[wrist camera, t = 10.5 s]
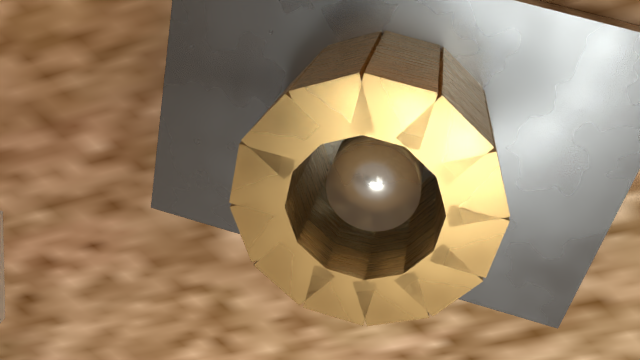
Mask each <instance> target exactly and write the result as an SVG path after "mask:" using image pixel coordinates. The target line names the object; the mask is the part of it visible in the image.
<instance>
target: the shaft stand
mask: <svg viewBox="0 0 640 360" xmlns="http://www.w3.org/2000/svg"><path fill="white" fill-rule="evenodd" d="M378 31H382V35H383V34H384V32H385V31H389V32H393V33H397V34H400V35H404V36H408V37H412V38H416V39H419V40H423V41H427V42H431V43H435V44H438V45H440V50H441V49H442V48H443V47H444V48H445V49H446V50H447V51H448V52H449V53H450V54H451V55H452V56H453V57H454V58H455V59H456V60H457V61H458V62H459V63H460V64H461V65H462V66H463V67H464V68H465V69H466V70H467V71H468V72H469V73H470V74H471V75H472V76H473V78H474V79H475V80H476V81H477V82H478V83H479V84H480V85H481V86H482V87H483V90H484V91H485V96H486V101H487V105H488V110H489V115H490V119H491V124H492V129H493V134H494V138H495V143H496V148H497V153H498V158H499V163H500V168H501V173H502V178H503V183H504V188H505V193H506V198H507V203H508V208H509V213H510V217H509V219H510V222H509V224H508V227H507V229H506V231H505V234H504V236H503V238H502V241H501V243H500V246H499V248H498V250H497V253H496V255H495V257H494V260H493V262H492V265H491V267H490V269H489V272H488V274H487V276H486V278H484V277H483V282H481V283H480V284H478V285H477V286H476V287H474V288H473V289H471V290H470V291H468V292H467V293H466V294H464V295H463V296H461V297H460V298H458V299H460V300H464V301H467V302H470V303H474V304H477V305H481V306H484V307H487V308H491V309H494V310H497V311H501V312H504V313H507V314H511V315H514V316H518V317H521V318H524V319H528V320H531V321H534V322H538V323H541V324H545V325H548V326H551V327H555V328H558V327H559V325H560V323H561V321H562V319H563V318H564V316H565V314H566V312H567V310H568V308H569V306H570V304H571V302H572V300H573V298H574V296H575V294H576V292H577V290H578V288H579V286H580V284H581V282H582V280H583V278H584V277H585V275H586V273H587V271H588V269H589V267H590V265H591V263H592V261H593V259H594V257H595V255H596V253H597V251H598V249H599V247H600V245H601V243H602V241H603V239H604V237H605V235H606V234H607V232H608V230H609V228H610V226H611V224H612V222H613V220H614V218H615V216H616V214H617V212H618V210H619V208H620V206H621V204H622V202H623V200H624V198H625V196H626V194H627V193H628V191H629V189H630V187H631V185H632V183H633V181H634V179H635V177H636V175H637V173H638V171H639V169H640V26H638V25H634V24H630V23H626V22H623V21H619V20H615V19H611V18H607V17H603V16H599V15H595V14H591V13H587V12H583V11H579V10H575V9H572V8H568V7H564V6H560V5H556V4H552V3H548V2H544V1H540V0H172V10H171V20H170V29H169V39H168V49H167V58H166V68H165V77H164V87H163V97H162V106H161V116H160V126H159V135H158V145H157V154H156V164H155V174H154V183H153V193H152V203H151V208H154V209H157V210H161V211H164V212H167V213H171V214H174V215H178V216H181V217H184V218H188V219H191V220H194V221H198V222H201V223H205V224H208V225H211V226H215V227H218V228H221V229H225V230H228V231H231V232H235V233H238V234H240V232H239V229H238V227H237V224H236V222H235V219H234V217H233V214H232V212H231V209H230V206H231V204H232V203H229V201H230V195H231V189H232V183H233V177H234V171H235V166H236V160H237V154H238V148H239V144H240V143H241V140H242V139H243V137H244V136H245V135H246V134H247V133H248V132H249V131H250V129H251V128H252V127H253V126H254V125H255V124H256V123H257V121H258V120H259V119H260V118H261V117H262V116H263V115H264V113H265V112H266V111H267V110H268V109H269V108H270V107H271V105H272V104H273V103H274V102H275V101H276V100H277V99H278V97H279V96H280V95H281V94H282V93H283V92H284V91H285V90H286V88H287V87H288V86H289V85H290V84H291V83H292V82H293V81H294V80H295V79H296V77H297V76H298V75H299V74H300V73H301V72H302V71H303V70H304V69H305V68H306V67H307V66H308V65H309V64H310V63H311V62H312V60H313V59H314V58H315V57H316V56H317V55H318V54H319V53H320V52H321V51H322V50H323V49H324V48H326V47H327V46H328V45H331V44H335V43H338V42H342V41H345V40H349V39H353V38H356V37H360V36H363V35H367V34H370V33H374V32H378ZM324 146H325V149H326V153H327V156H328V159H329V162H330V165H331V167H330V169H329V172H328V175H327V179H326V193H327V197H328V200H329V203H330V205H331V207H332V208H333V210H334V211H335V212H336V214H337V215H338V216H339V217H340V218H341V219H343V220H344V221H345V222H347V223H348V224H350V225H352V226H354V227H356V228H359V229H362V230H366V231H385V230H390V229H393V228H395V227H397V226H399V225H401V224H403V223H404V222H406V221H407V220H408V219H409V218H410V217H411V216H412V214H413V213H414V212H415V210H416V208H417V206H418V204H419V201H420V196H421V185H422V182H424V181H425V180H426V179H427V178H428V177H430V176H431V175H432V174H433V173H432V172H431V171H430V170H429V169H428V168H427V167H426V166H425V165H424V164H423V163H422V162H421V161H420V160H419V159H417V158H416V157H415V156H414V155H413V154H412V153H411V152H410V151H409V150H408V149H407V148H406V147H404V146H400V145H397V144H393V143H390V142H386V141H383V140H379V139H375V138H372V137H368V136H365V135H360V136H355V137H351V138H347V139H342V140H338V141H333V142H329V143H325V144H324Z"/></svg>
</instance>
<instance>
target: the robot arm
mask: <svg viewBox="0 0 640 360" xmlns="http://www.w3.org/2000/svg"><path fill="white" fill-rule="evenodd" d="M4 319H5V289H4V245H3V211H0V323H1V322H2V321H3V320H4Z"/></svg>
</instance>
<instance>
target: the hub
mask: <svg viewBox="0 0 640 360" xmlns="http://www.w3.org/2000/svg"><path fill="white" fill-rule="evenodd" d="M360 135H365V136H368V137H372V138H375V139H379V140H383V141H386V142H390V143H393V144H397V145H400V146H404V147H406V148H407V149H408V150H409V151H410V152H411V153H412V154H413V155H414V156H415V157H416V158H417V159H419V160H420V161H421V162H422V163H423V164H424V165H425V166H426V167H427V168H428V169H429V170H430V171H431V172H432V173H433V174H432V175H431V176H430V177H428V178H427V179H426V180H425V181H424V182H422V185H421V196H420V201H419V204H418V206H417V208H416V210H415V212H414V213H413V214H412V216H411V217H410V218H409V219H408V220H407V221H406V222H404V223H403V224H401V225H399V226H397V227H395V228H393V229H390V230H385V231H366V230H362V229H359V228H356V227H354V226H352V225H350V224H348V223H347V222H345V221H344V220H343V219H341V218H340V217H339V216H338V215H337V214H336V212H335V211H334V210H333V208H332V207H331V205H330V203H329V200H328V197H327V193H326V179H327V175H328V172H329V169H330V167H331V165H330V162H329V159H328V156H327V153H326V149H325V146H324V144H325V143H329V142H333V141H338V140H342V139H347V138H351V137H355V136H360ZM229 203H232V204H231V206H230V209H231V212H232V214H233V217H234V219H235V222H236V224H237V227H238V229H239V232H240V234H241V237H242V239H243V242H244V244H245V247H246V249H247V252H248V255H249V257H250V260H251V262H254V261H256V262H255V264H254V266H255V267H256V268H258V269H259V270H260V271H261V272H262V273H263V274H264V275H266V276H267V277H268V278H269V279H270V280H271V281H272V282H273V283H275V284H276V285H277V286H278V287H279V288H280V289H281V290H283V291H284V292H285V293H286V294H287V295H288V296H289V297H291V298H292V299H293V300H294V301H295V302H296V303H297V304H298V305H301V304H302V303H303V302H304V301H305V303H304V307H303V308H307V309H310V310H313V311H316V312H320V313H323V314H326V315H329V316H333V317H336V318H339V319H343V320H346V321H349V322H352V323H356V324H359V325H362V326H363V324H364V321H366V324H367V326H371V325H379V324H386V323H394V322H402V321H409V320H417V319H424V318H429V313H430V314H431V315H432V316H434V315H436V314H437V313H438V312H440V311H441V310H443V309H444V308H446V307H447V306H448V305H450V304H451V303H453V302H454V301H456V300H457V299H458V298H460V297H461V296H463V295H464V294H466V293H467V292H468V291H470V290H471V289H473V288H474V287H476V286H477V285H478V284H480V283H481V282H483V277H484V278H486V276H487V274H488V272H489V269H490V267H491V265H492V262H493V260H494V257H495V255H496V253H497V250H498V248H499V246H500V243H501V241H502V238H503V236H504V234H505V231H506V229H507V227H508V224H509V222H510V219H509V217H510V213H509V208H508V203H507V198H506V193H505V188H504V183H503V178H502V173H501V168H500V163H499V158H498V153H497V148H496V143H495V138H494V134H493V129H492V124H491V119H490V115H489V110H488V105H487V101H486V96H485V91H484V90H483V87H482V86H481V85H480V84H479V83H478V82H477V81H476V80H475V79H474V78H473V76H472V75H471V74H470V73H469V72H468V71H467V70H466V69H465V68H464V67H463V66H462V65H461V64H460V63H459V62H458V61H457V60H456V59H455V58H454V57H453V56H452V55H451V54H450V53H449V52H448V51H447V50H446V49H445V48H444V47H443V48H442V49H441V50H440V45H438V44H435V43H431V42H427V41H423V40H419V39H416V38H412V37H408V36H404V35H400V34H397V33H393V32H389V31H385V32H384V34H383V35H382V31H378V32H374V33H370V34H367V35H363V36H360V37H356V38H353V39H349V40H345V41H342V42H338V43H335V44H331V45H328V46H327V47H326V48H324V49H323V50H322V51H321V52H320V53H319V54H318V55H317V56H316V57H315V58H314V59H313V60H312V62H311V63H310V64H309V65H308V66H307V67H306V68H305V69H304V70H303V71H302V72H301V73H300V74H299V75H298V76H297V77H296V79H295V80H294V81H293V82H292V83H291V84H290V85H289V86H288V87H287V88H286V90H285V91H284V92H283V93H282V94H281V95H280V96H279V97H278V99H277V100H276V101H275V102H274V103H273V104H272V105H271V107H270V108H269V109H268V110H267V111H266V112H265V113H264V115H263V116H262V117H261V118H260V119H259V120H258V121H257V123H256V124H255V125H254V126H253V127H252V128H251V129H250V131H249V132H248V133H247V134H246V135H245V136H244V137H243V139H242V140H241V143H240V144H239V148H238V154H237V160H236V166H235V171H234V177H233V183H232V189H231V195H230V201H229Z"/></svg>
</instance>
